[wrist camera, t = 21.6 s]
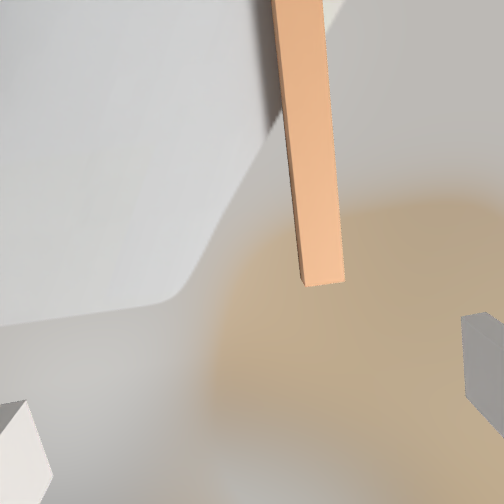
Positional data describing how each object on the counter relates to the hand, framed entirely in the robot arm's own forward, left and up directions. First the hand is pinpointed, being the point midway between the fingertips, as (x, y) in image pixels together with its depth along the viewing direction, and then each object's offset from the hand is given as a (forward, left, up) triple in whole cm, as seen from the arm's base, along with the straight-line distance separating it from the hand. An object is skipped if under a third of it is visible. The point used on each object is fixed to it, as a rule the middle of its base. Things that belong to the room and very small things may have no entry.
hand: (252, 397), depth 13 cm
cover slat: (+8, +6, -33) cm, 34 cm away
